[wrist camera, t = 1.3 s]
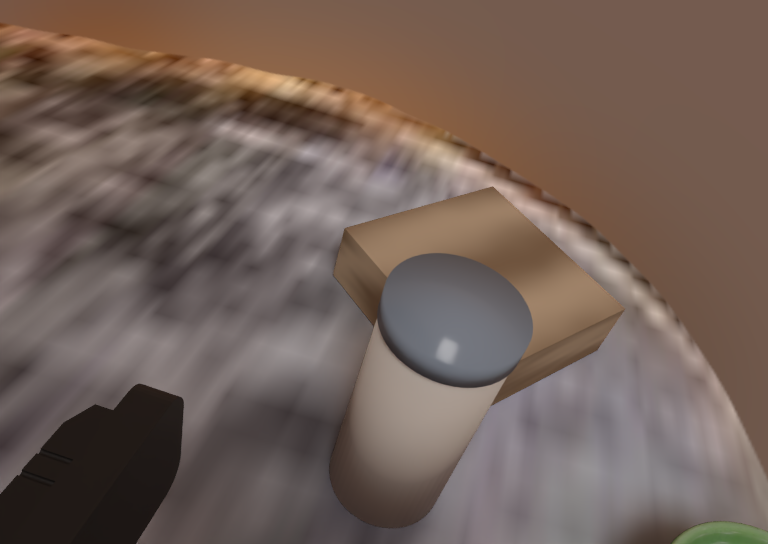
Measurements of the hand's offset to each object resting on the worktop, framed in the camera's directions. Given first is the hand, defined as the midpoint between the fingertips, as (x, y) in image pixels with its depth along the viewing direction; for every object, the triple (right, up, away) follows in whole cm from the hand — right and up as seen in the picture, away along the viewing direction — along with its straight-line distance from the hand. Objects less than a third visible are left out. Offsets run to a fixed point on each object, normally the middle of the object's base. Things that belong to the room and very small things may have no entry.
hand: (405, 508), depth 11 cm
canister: (0, -5, +19) cm, 20 cm away
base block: (+4, +2, +28) cm, 28 cm away
